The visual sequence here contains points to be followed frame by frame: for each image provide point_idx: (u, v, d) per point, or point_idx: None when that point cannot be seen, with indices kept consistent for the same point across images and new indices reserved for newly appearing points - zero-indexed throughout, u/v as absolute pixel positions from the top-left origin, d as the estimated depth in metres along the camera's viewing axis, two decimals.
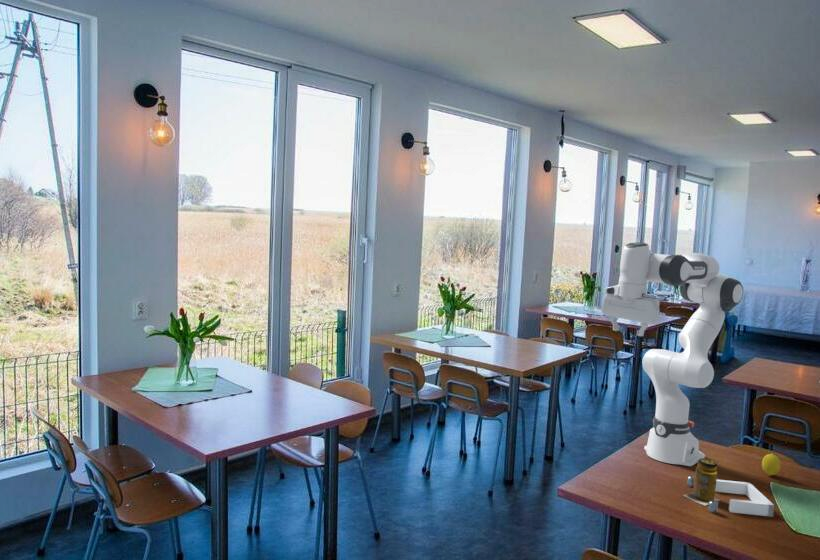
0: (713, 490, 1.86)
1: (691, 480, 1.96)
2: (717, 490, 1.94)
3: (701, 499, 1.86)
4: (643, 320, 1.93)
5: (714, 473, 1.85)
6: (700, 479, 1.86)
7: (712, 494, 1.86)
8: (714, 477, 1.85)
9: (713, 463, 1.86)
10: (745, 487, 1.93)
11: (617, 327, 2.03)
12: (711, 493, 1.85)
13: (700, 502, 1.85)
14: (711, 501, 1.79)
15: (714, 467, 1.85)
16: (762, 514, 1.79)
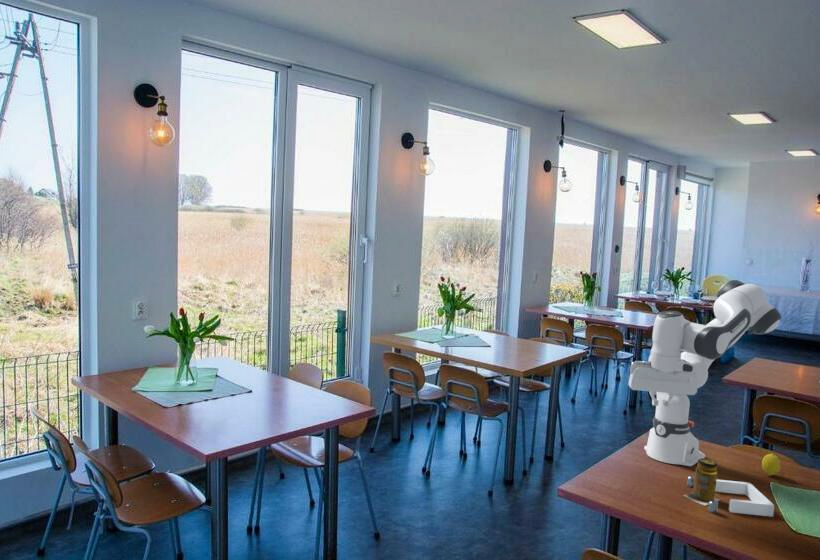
0: (713, 490, 1.86)
1: (691, 480, 1.96)
2: (717, 490, 1.94)
3: (701, 499, 1.86)
4: None
5: (714, 473, 1.85)
6: (700, 479, 1.86)
7: (712, 494, 1.86)
8: (714, 477, 1.85)
9: (713, 463, 1.86)
10: (745, 487, 1.93)
11: (663, 402, 1.91)
12: (711, 493, 1.85)
13: (700, 502, 1.85)
14: (711, 501, 1.79)
15: (714, 467, 1.85)
16: (762, 514, 1.79)
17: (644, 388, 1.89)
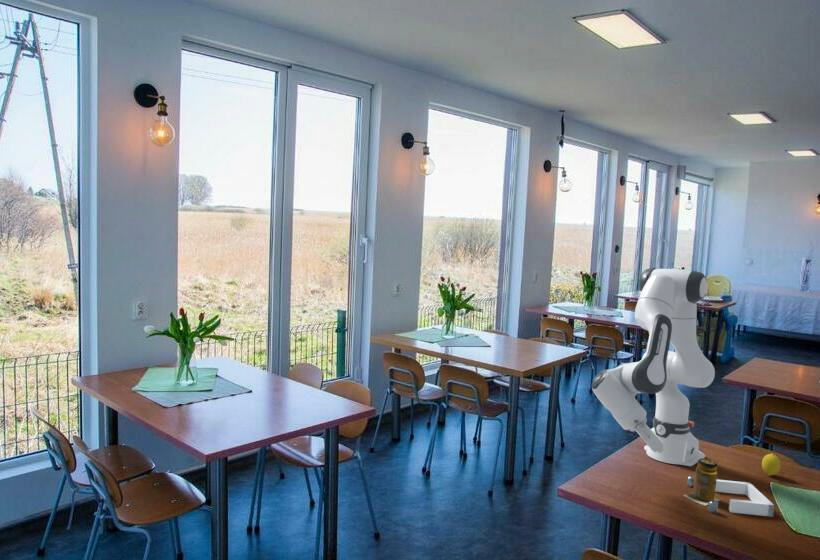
0: (713, 490, 1.86)
1: (691, 480, 1.96)
2: (717, 490, 1.94)
3: (701, 499, 1.86)
4: None
5: (714, 473, 1.85)
6: (700, 479, 1.86)
7: (712, 494, 1.86)
8: (714, 477, 1.85)
9: (713, 463, 1.86)
10: (745, 487, 1.93)
11: None
12: (711, 493, 1.85)
13: (700, 502, 1.85)
14: (711, 501, 1.79)
15: (714, 467, 1.85)
16: (762, 514, 1.79)
17: None
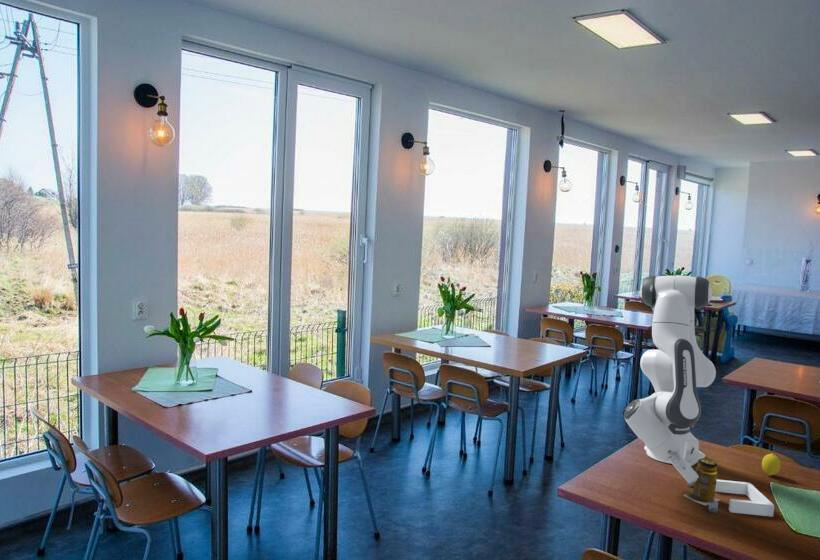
0: (713, 490, 1.86)
1: None
2: (717, 490, 1.94)
3: (701, 499, 1.86)
4: None
5: (714, 473, 1.85)
6: (700, 479, 1.86)
7: (712, 494, 1.86)
8: (714, 477, 1.85)
9: (713, 463, 1.86)
10: (745, 487, 1.93)
11: None
12: (712, 493, 1.85)
13: (700, 502, 1.85)
14: (711, 501, 1.79)
15: (714, 467, 1.85)
16: (762, 514, 1.79)
17: None
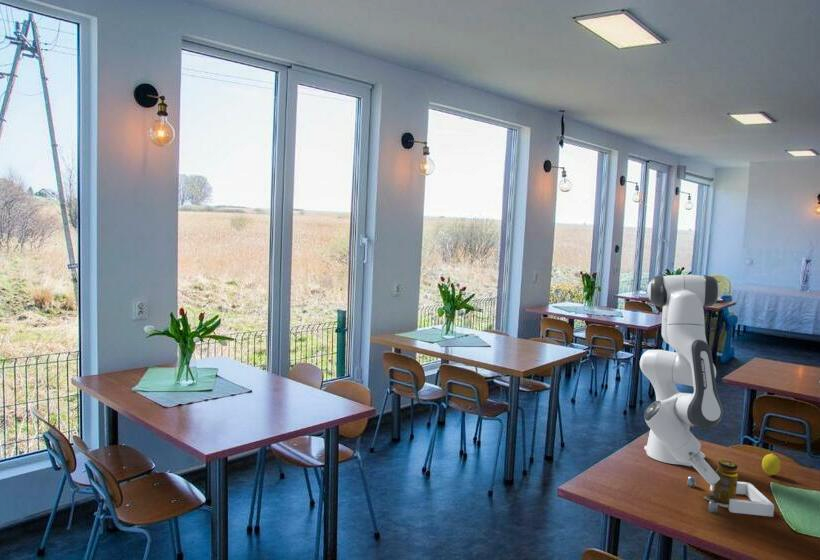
0: (734, 492, 1.85)
1: (691, 480, 1.96)
2: None
3: (722, 501, 1.86)
4: None
5: (735, 475, 1.84)
6: (720, 481, 1.86)
7: (733, 496, 1.85)
8: (735, 479, 1.84)
9: (734, 465, 1.85)
10: (745, 487, 1.93)
11: None
12: (732, 495, 1.85)
13: (721, 504, 1.84)
14: (711, 501, 1.79)
15: (735, 469, 1.85)
16: (762, 514, 1.79)
17: None
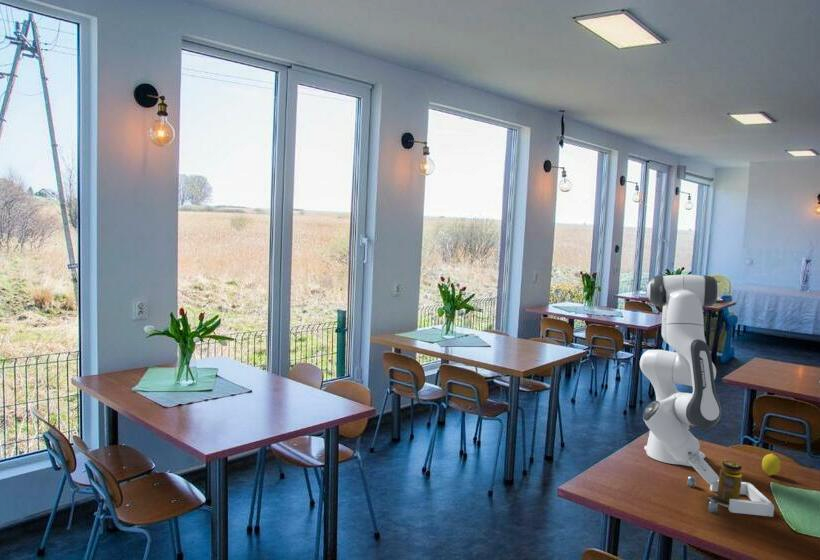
0: (738, 493, 1.85)
1: (691, 480, 1.96)
2: (717, 490, 1.94)
3: (726, 502, 1.85)
4: None
5: (739, 476, 1.84)
6: (724, 482, 1.85)
7: (737, 497, 1.85)
8: (739, 480, 1.84)
9: (738, 466, 1.85)
10: (745, 487, 1.93)
11: None
12: (736, 496, 1.85)
13: (725, 505, 1.84)
14: (711, 501, 1.79)
15: (739, 470, 1.84)
16: (762, 514, 1.79)
17: None
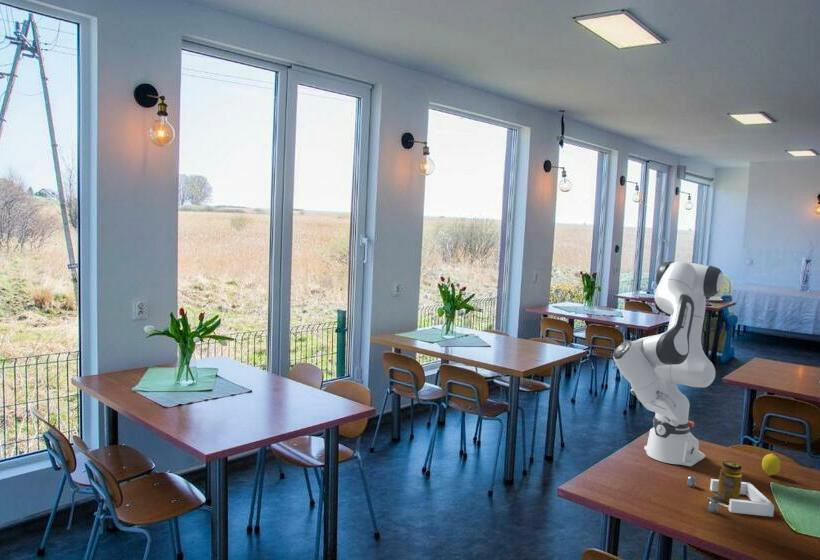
0: (738, 493, 1.85)
1: (691, 480, 1.96)
2: (717, 490, 1.94)
3: (726, 502, 1.85)
4: (672, 418, 1.82)
5: (739, 476, 1.84)
6: (724, 482, 1.85)
7: (737, 497, 1.85)
8: (739, 480, 1.84)
9: (738, 466, 1.85)
10: (745, 487, 1.93)
11: None
12: (736, 496, 1.85)
13: (725, 505, 1.84)
14: (711, 501, 1.79)
15: (739, 470, 1.84)
16: (762, 514, 1.79)
17: None
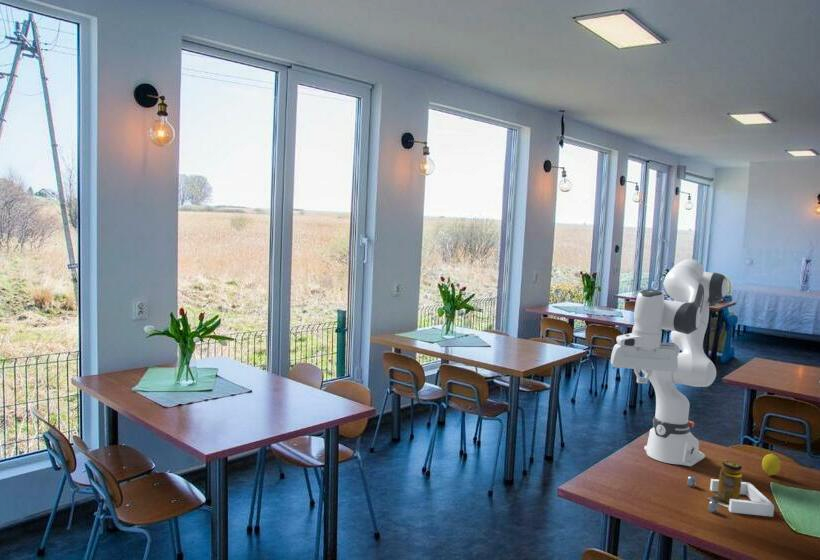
0: (738, 493, 1.85)
1: (691, 480, 1.96)
2: (717, 490, 1.94)
3: (726, 502, 1.85)
4: (666, 369, 1.91)
5: (739, 476, 1.84)
6: (724, 482, 1.85)
7: (737, 497, 1.85)
8: (739, 480, 1.84)
9: (738, 466, 1.85)
10: (745, 487, 1.93)
11: None
12: (736, 496, 1.85)
13: (725, 505, 1.84)
14: (711, 501, 1.79)
15: (739, 470, 1.84)
16: (762, 514, 1.79)
17: None
